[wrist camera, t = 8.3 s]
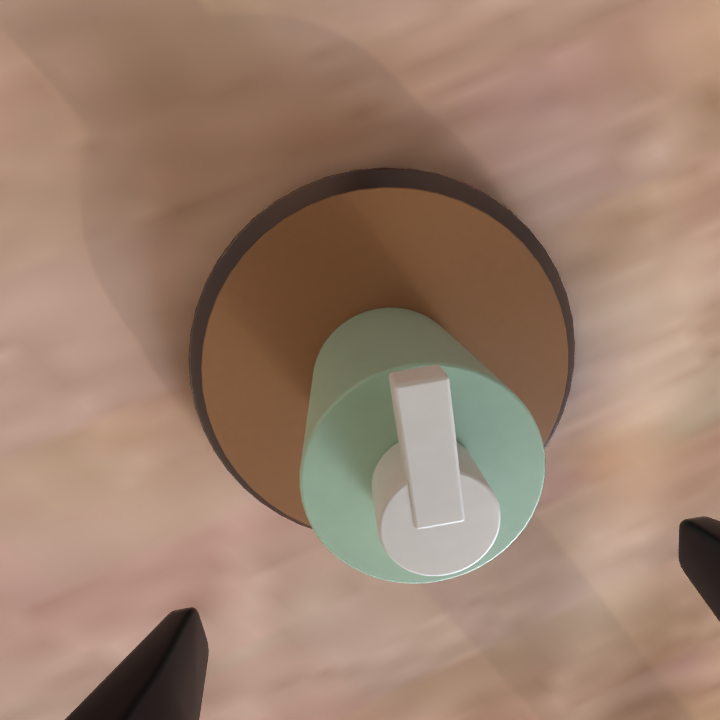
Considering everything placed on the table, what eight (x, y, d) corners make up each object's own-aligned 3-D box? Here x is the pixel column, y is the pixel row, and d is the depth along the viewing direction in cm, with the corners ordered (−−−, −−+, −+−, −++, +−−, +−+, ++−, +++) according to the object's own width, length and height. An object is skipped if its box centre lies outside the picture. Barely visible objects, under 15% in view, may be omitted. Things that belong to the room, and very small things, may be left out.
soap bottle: (565, 497, 20) (760, 723, 11) (252, 552, 20) (183, 828, 11) (550, 158, 16) (833, 67, 7) (163, 224, 16) (-63, 219, 7)
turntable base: (556, 139, 17) (569, 133, 16) (569, 495, 21) (581, 508, 20) (148, 207, 17) (137, 206, 16) (244, 552, 21) (239, 567, 20)
